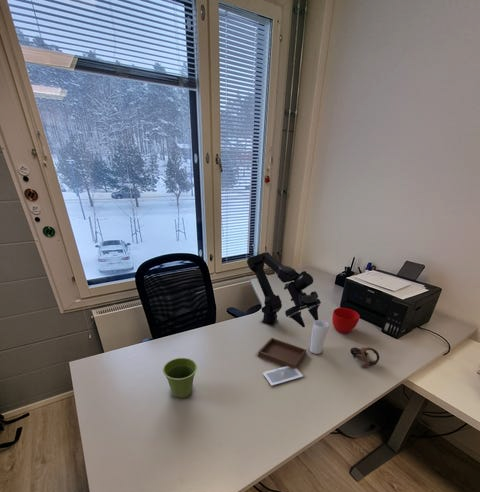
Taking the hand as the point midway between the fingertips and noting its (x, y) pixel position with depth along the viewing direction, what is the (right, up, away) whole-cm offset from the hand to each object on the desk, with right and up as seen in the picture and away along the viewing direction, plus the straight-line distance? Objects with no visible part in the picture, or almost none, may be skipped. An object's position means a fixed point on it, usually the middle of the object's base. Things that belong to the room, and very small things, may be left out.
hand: (311, 324), depth 123 cm
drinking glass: (+3, -13, +2) cm, 13 cm away
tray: (-13, -14, -1) cm, 19 cm away
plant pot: (-54, -25, -23) cm, 64 cm away
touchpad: (-15, -21, -13) cm, 29 cm away
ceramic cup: (+22, -3, +22) cm, 31 cm away
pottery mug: (+22, -17, -3) cm, 28 cm away
